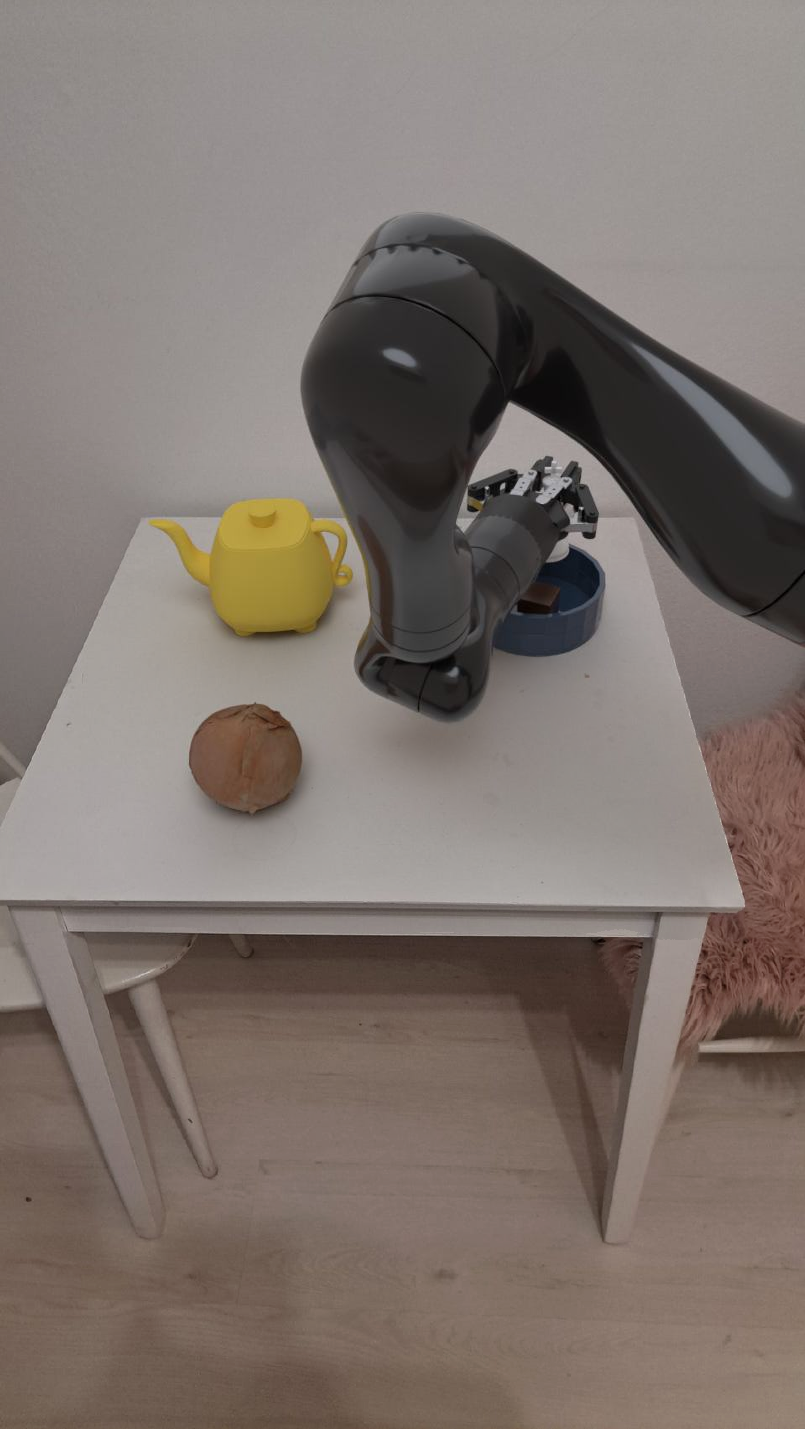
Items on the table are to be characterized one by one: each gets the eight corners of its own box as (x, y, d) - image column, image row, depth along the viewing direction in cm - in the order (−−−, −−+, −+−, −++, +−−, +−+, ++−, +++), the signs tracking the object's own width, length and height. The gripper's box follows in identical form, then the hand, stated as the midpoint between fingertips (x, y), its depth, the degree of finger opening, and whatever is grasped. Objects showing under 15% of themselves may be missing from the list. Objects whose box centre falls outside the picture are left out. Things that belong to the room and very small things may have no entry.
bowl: (615, 593, 102) (621, 554, 98) (575, 671, 93) (581, 632, 89) (494, 563, 106) (496, 526, 103) (445, 635, 97) (445, 596, 94)
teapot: (356, 644, 97) (348, 541, 88) (163, 655, 96) (136, 552, 87) (354, 568, 106) (346, 468, 98) (179, 577, 106) (156, 478, 97)
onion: (284, 786, 87) (313, 693, 82) (286, 845, 78) (318, 745, 74) (182, 765, 84) (207, 668, 80) (173, 824, 76) (200, 719, 72)
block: (558, 614, 98) (561, 587, 96) (547, 633, 96) (550, 606, 94) (526, 606, 100) (529, 579, 97) (515, 624, 97) (517, 598, 95)
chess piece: (571, 562, 95) (582, 474, 88) (523, 563, 95) (530, 475, 88) (566, 536, 99) (576, 449, 92) (519, 536, 99) (526, 450, 92)
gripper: (580, 536, 77) (634, 445, 89) (428, 501, 82) (499, 419, 93) (570, 608, 82) (623, 514, 94) (428, 572, 87) (495, 486, 98)
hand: (561, 467), depth 93 cm, fingers closed on chess piece
